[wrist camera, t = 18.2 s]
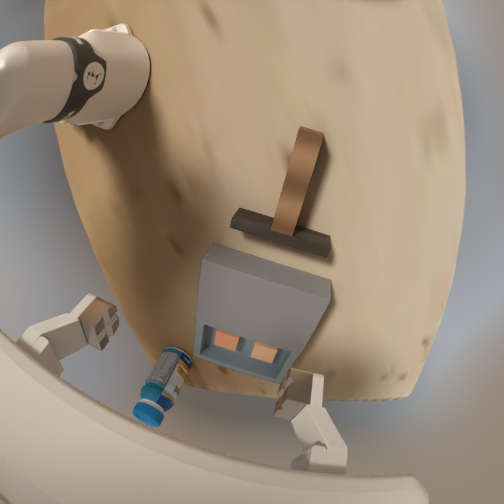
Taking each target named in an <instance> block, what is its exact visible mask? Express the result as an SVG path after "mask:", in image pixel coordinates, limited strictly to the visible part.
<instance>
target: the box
mask: <svg viewBox="0 0 504 504" xmlns="http://www.w3.org/2000/svg"><path fill="white" fill-rule="evenodd" d="M216 331H217V329H216V328H213V327H210V326H208V325H205V324H202V323H199V322H197V321H196V329H195V339H194V349H193V356H195V357H197V358H200V359H203V360H206V361H208V362H211V363H214V364H217V365H220V366H223V367H226V368H229V369H232V370H235V371H238V372H241V373H244V374H247V375H251V376H254V377H257V378H261V379H264V380H268V381H271V382H275V383H279V384H281V381H282V379H283V377H284V376H286V375H287V371H288V369H289V368H290V367H291V366H292V365H293V363H294V361H295V360H296V358H297V356H298V355H299V354H297V353H293V352H289V351H286V350H282V349H279V348H278V351H277V353H276V355H275V357H274V359H273V361H272V363H269V362H266V361H262V360H259V359H256V358H252V357H250V356H251V352H252V349H253V346H254V344H255V341H252V340H249V339H246V338H243V337H240V339H239V342H238V345H237V348H236V350H235V352H234V351H231V350H228V349H225V348H223V347H220V346H217V345H214V341H215V336H216Z"/></svg>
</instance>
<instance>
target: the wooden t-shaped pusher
mask: <svg viewBox="0 0 504 504" xmlns="http://www.w3.org/2000/svg"><path fill="white" fill-rule="evenodd" d="M323 137H324V135H323V133H321V132H318V131H315V130H312V129H309V128H305V127H302V126H301V127H300V128H299V131H298V134H297V138H296V142H295V145H294V149H293V152H292V156H291V160H290V163H289V167H288V170H287V174H286V178H285V181H284V185H283V188H282V192H281V195H280V199H279V202H278V206H277V209H276V213H275V216H274V218H272V217H269V216H266V215H262V214H259V213H256V212H252V211H249V210H246V209H242V208H239V209H238V210H237V212H236V213H235V215H234V216H233V217H232V220H231V225H230V228H233V229H237V230H240V231H243V232H246V233H250V234H253V235H256V236H259V237H263V238H266V239H269V240H272V241H275V242H279V243H282V244H285V245H288V246H291V247H295V248H298V249H301V250H304V251H307V252H310V253H313V254H317V255H320V256H323V257H326V258H327V255H328V253H329V251H330V236H329V235H326V234H323V233H320V232H316V231H313V230H310V229H307V228H304V227H301V226H298V225H296V223H297V220H298V217H299V214H300V211H301V208H302V205H303V202H304V198H305V195H306V192H307V189H308V186H309V183H310V179H311V176H312V173H313V170H314V167H315V163H316V160H317V157H318V154H319V150H320V147H321V144H322V140H323Z"/></svg>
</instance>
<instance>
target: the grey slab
mask: <svg viewBox="0 0 504 504" xmlns="http://www.w3.org/2000/svg"><path fill="white" fill-rule="evenodd" d="M330 301H331V280H330V279H326V278H323V277H320V276H317V275H313V274H310V273H307V272H304V271H301V270H297V269H294V268H291V267H288V266H285V265H281V264H278V263H275V262H272V261H269V260H265V259H262V258H259V257H256V256H253V255H250V254H246V253H243V252H240V251H237V250H234V249H230V248H227V247H224V246H221V245H218V244H214V243H213V245H212V246H211V247H210V249H209V250H208V252H207V253H206V254H205V256H204V257H203V259H202V264H201V272H200V280H199V288H198V297H197V305H196V315H195V321H197V322H199V323H202V324H205V325H208V326H210V327H213V328H216V329H219V330H222V331H225V332H228V333H231V334H234V335H237V336H240V337H243V338H246V339H249V340H252V341H256V342H259V343H262V344H265V345H269V346H272V347H275V348H279V349H282V350H286V351H289V352H293V353H297V354H301V353H302V351H303V349H304V348H305V346H306V344H307V342H308V341H309V339H310V337H311V335H312V334H313V332H314V330H315V328H316V327H317V325H318V323H319V321H320V319H321V317H322V316H323V314H324V312H325V310H326V308H327V306H328V304H329V302H330Z"/></svg>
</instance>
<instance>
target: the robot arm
mask: <svg viewBox="0 0 504 504" xmlns="http://www.w3.org/2000/svg"><path fill="white" fill-rule="evenodd" d="M149 71H150V62H149V56H148V53H147V50H146V48H145V47H144V45H143V44H142V43H141V42H140V41H139V40H138V39H136V38H135V37H134V36H133V34H132V31H131V28H130V27H129V25H128V24H119V25H116V26H114V27H111V28H108V29H106V30H97V29H92V30H89V31H88V32H87V33H84V34H82V35H80V36H79V37H71V36H67V37H59V38H55V39H53V40H39V41H20V42H14V43H12V44H10V45H8V46H6V47H4V48H2V49H1V50H0V139H1V138H3V137H4V136H6V135H8V134H10V133H13V132H15V131H18V130H20V129H23V128H25V127H28V126H31V125H34V124H37V123H41V122H44V123H52V122H53V123H54V122H61V123H68V122H70V125H78V126H79V125H86V124H92V125H94V126H97V127H100V128H102V129H105V130H107V129H111V128H113V127H114V125H115V124H116V122H117V121H118V119H119V117H120V116H122V115H123V114H124V113H126V112H127V111H129V110H130V109H131V108H132V107H133V106H134V105H135V104H136V103H137V102H138V100H139V99H140V97H141V96H142V94H143V92H144V90H145V88H146V85H147V82H148V78H149ZM103 121H104V122H103ZM116 312H117V307H116V305H113V304H111V303H109V302H107V301H105V300H103V299H101V298H99V297H97V296H95V295H93V294H91V293H89V294H87V295H86V296H85V297H84V298H83V300H82V301H81V302H80V303H79V304H78V305H77V306H76V307H75V308H74V309H73V310H72V312H71V313H70V314H68V313H66V314H63V315H60V316H57V317H54V318H52V319H49V320H46V321H43V322H40V323H38V324H35V325H32V326H30V327H29V328H28V329H27V330H26V331H25V333H24V334H23V335H22V336H21V337H20V338H19V339H18V341H17V342H16V343H15V342H14V341H13V340H12V339H10V338H9V337H8V336H7V335H6V334H5V333H4V332H3V331H2V330H1V329H0V504H429V497H428V493H427V492H426V490H425V488H424V487H423V486H422V484H421V482H420V481H419V480H418V478H417V477H416V476H415V475H413V474H396V475H345V473H346V462H347V447H346V445H345V443H344V441H343V439H342V438H341V436H340V434H339V432H338V431H337V429H336V427H335V425H334V423H333V421H332V419H331V418H330V416H329V414H328V412H327V410H326V409H325V408H323V407H322V402H323V389H324V375H322V374H317V373H312V372H310V371H305V370H301V369H297V368H292V367H290V368H289V369H288V371H287V375H286V376H284V377H283V379H282V381H281V384H280V387H279V390H278V397H279V400H278V401H277V402H276V406H275V411H274V416H276V417H280V418H284V419H288V420H292V421H291V422H292V425H293V427H294V430H295V432H296V435H297V438H298V440H299V443H300V445H301V448H302V450H303V453H302V454H301V455H299V456H298V457H296V458H294V459H293V460H292V461H291V466H290V469H288V468H282V467H276V466H271V465H266V464H261V463H256V462H252V461H248V460H244V459H240V458H236V457H232V456H228V455H225V454H221V453H218V452H214V451H211V450H208V449H205V448H202V447H199V446H196V445H193V444H190V443H187V442H185V441H182V440H179V439H176V438H174V437H171V436H169V435H166V434H164V433H162V432H159V431H157V430H154V429H152V428H150V427H148V426H145V425H143V424H141V423H139V422H137V421H135V420H133V419H131V418H129V417H126V416H125V415H122V414H120V413H119V412H117V411H115V410H113V409H111V408H109V407H107V406H106V405H104V404H102V403H100V402H98V401H97V400H95V399H93V398H92V397H90V396H88V395H86V394H85V393H83V392H81V391H80V390H78V389H77V388H75V387H74V386H72V385H71V384H69V383H68V382H66V381H65V380H63V379H62V378H60V377H59V376H60V375H61V373H62V372H63V367H62V365H61V363H60V361H59V360H60V359H62V358H64V357H66V356H68V355H70V354H72V353H74V352H76V351H78V350H79V349H81V348H83V347H85V346H87V345H88V344H89V345H91V346H93V347H95V348H97V349H99V350H101V351H102V350H103V349H104V348H105V346H106V345H107V343H108V342H109V336H112V335H114V333H115V332H116V330H117V328H118V325H119V317H118V316H117V314H116Z"/></svg>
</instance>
